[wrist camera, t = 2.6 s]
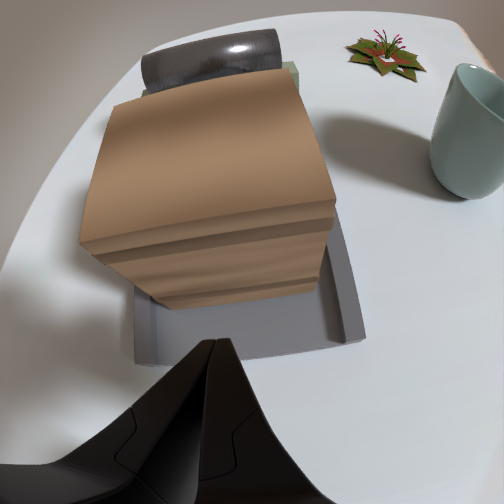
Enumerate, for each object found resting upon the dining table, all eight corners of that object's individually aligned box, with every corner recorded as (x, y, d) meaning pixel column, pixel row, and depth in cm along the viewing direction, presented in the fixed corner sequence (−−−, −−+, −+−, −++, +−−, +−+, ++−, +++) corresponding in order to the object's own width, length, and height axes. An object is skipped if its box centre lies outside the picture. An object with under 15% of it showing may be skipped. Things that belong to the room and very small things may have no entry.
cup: (417, 195, 21) (463, 102, 12) (419, 135, 24) (447, 51, 15) (490, 224, 19) (552, 152, 10) (484, 162, 22) (524, 91, 13)
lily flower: (426, 58, 31) (432, 35, 27) (427, 96, 27) (436, 67, 23) (351, 36, 34) (353, 11, 30) (334, 67, 30) (336, 36, 26)
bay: (359, 341, 17) (414, 309, 9) (147, 366, 18) (58, 348, 10) (292, 97, 27) (288, 21, 19) (160, 121, 28) (130, 53, 20)
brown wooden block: (315, 291, 18) (339, 198, 9) (171, 310, 18) (76, 243, 9) (293, 186, 21) (290, 67, 12) (171, 206, 22) (112, 106, 13)
